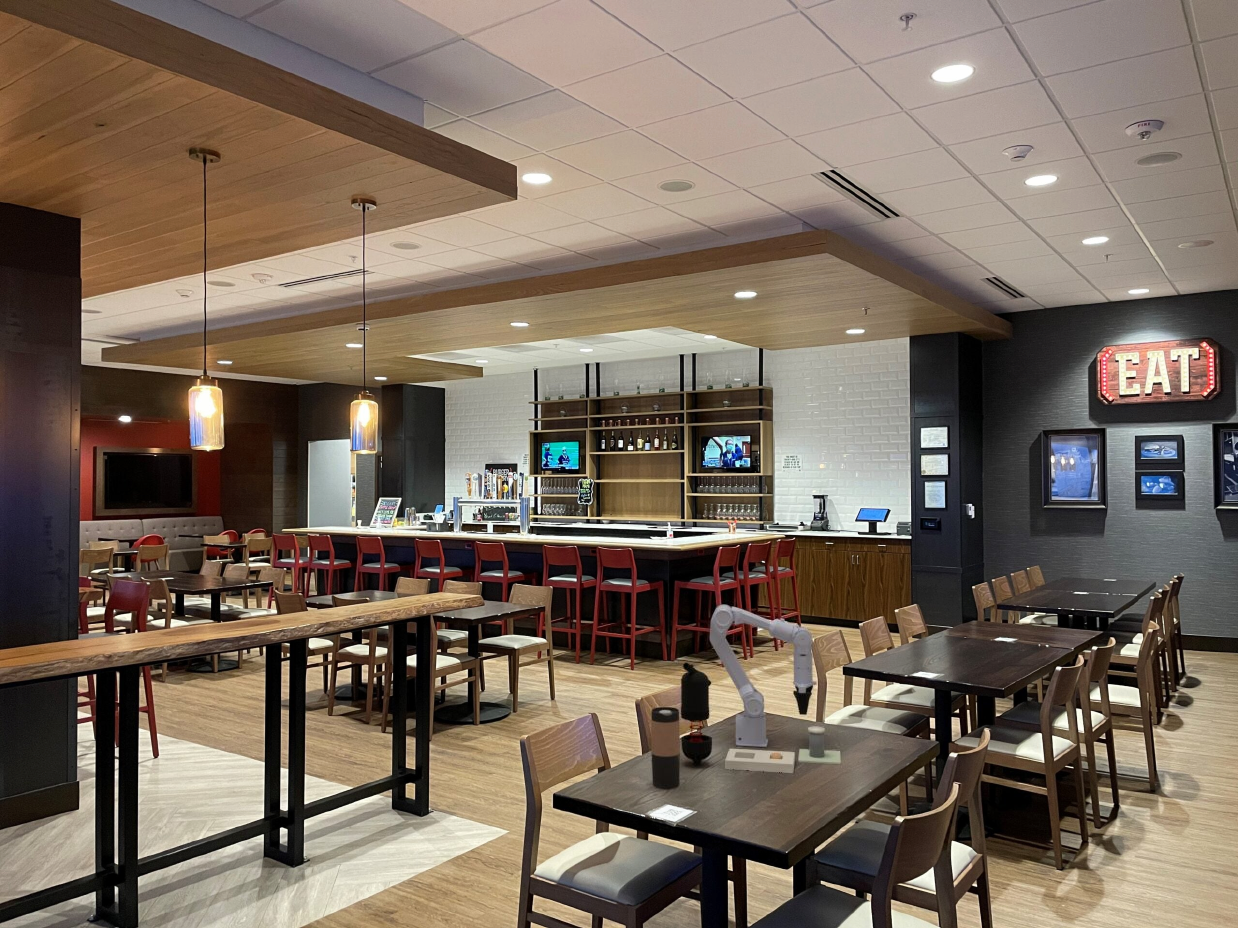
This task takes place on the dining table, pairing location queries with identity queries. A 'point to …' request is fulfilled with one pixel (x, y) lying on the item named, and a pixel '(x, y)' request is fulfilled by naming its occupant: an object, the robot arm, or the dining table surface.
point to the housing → (759, 761)
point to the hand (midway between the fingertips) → (803, 711)
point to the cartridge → (816, 741)
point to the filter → (695, 713)
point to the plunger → (775, 756)
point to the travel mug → (665, 747)
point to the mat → (829, 758)
